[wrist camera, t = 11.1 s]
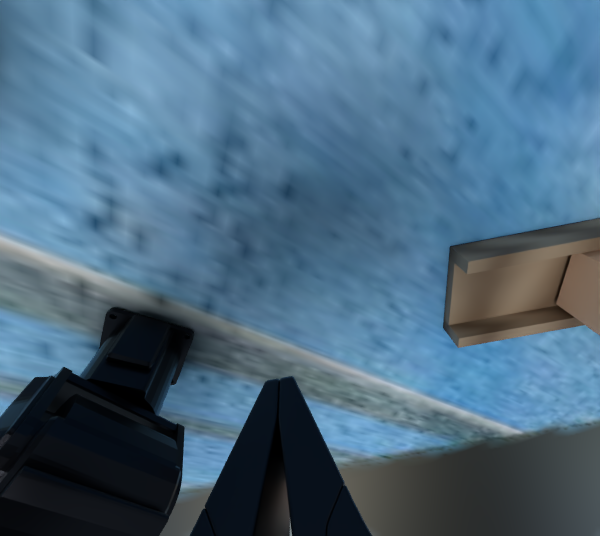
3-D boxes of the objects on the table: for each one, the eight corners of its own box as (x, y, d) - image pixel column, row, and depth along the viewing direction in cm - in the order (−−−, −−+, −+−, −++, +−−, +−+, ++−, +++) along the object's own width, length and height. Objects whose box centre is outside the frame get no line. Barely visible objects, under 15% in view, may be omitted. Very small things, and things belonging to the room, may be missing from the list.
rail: (443, 327, 26) (457, 347, 24) (450, 246, 22) (468, 261, 20) (640, 292, 25) (673, 309, 23) (683, 202, 21) (727, 213, 19)
